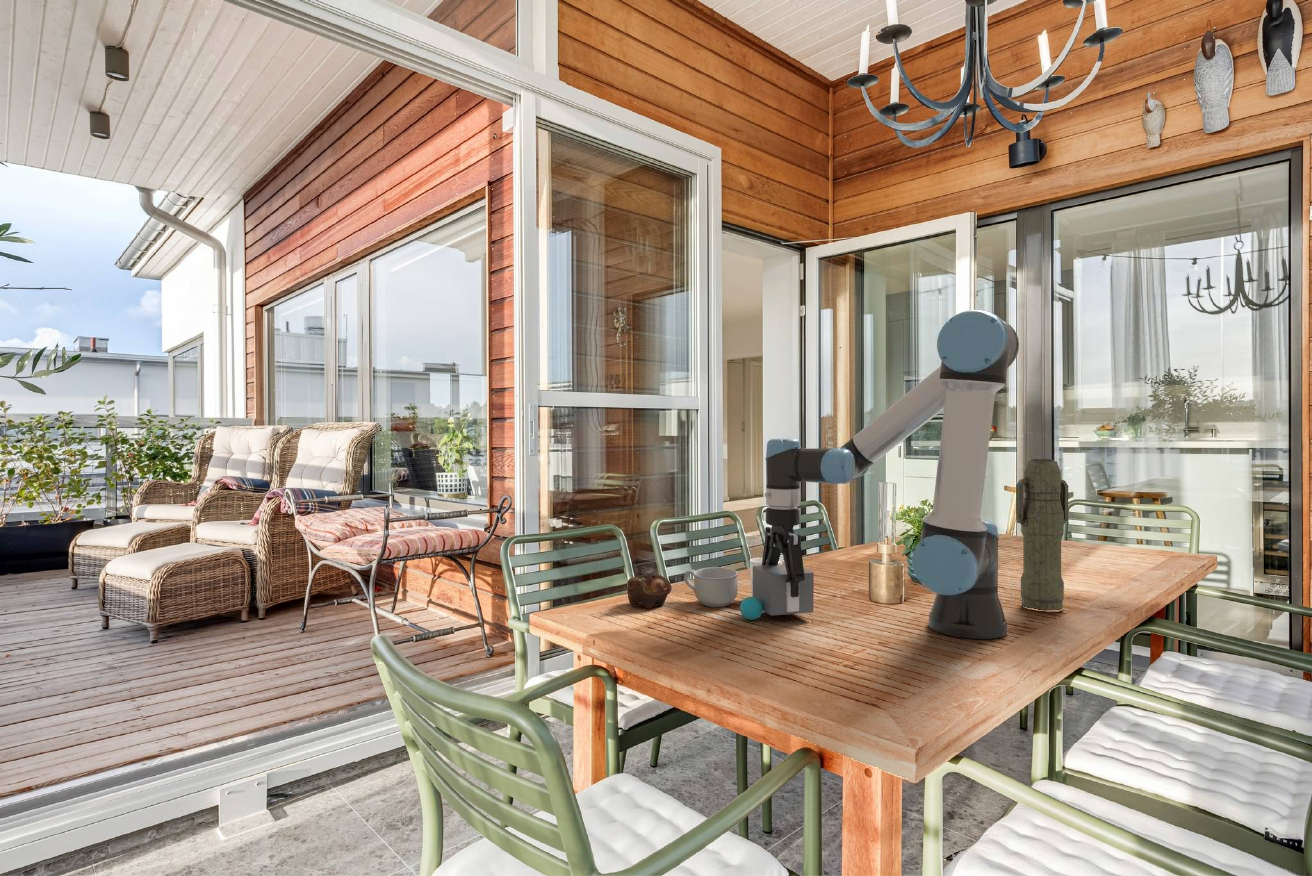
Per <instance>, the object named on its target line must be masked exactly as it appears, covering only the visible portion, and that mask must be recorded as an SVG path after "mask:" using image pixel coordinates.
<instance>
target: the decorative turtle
mask: <svg viewBox="0 0 1312 876" xmlns="http://www.w3.org/2000/svg"><path fill="white" fill-rule="evenodd" d="M626 589H627V590H626V591H627V597H628V598H627V599H628V602H629V605H630V606H631V607H637V606H638V605H639V604H640V603H641V604H642V605H643V606H644V608H646V609H647V610H651V609H652V608H653V607H654V606H655V604H656V605H657V606H659V605H660V606H659V607H662V605H663V606H664V604H665V602H666V600H667V598H668V595H670V593H671V592H672V589H673V588H672V584H671V582H670V580H669V579H668V578H666V577H665V576H662V575H660V574H658V573H652V572H651V573H650V572H649V573H643V574H640V575H638V576H637V577H636V576H633V577H630V578H629V579H628V580H627V584H626Z"/></svg>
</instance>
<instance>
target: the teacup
mask: <svg viewBox="0 0 1312 876" xmlns="http://www.w3.org/2000/svg"><path fill="white" fill-rule="evenodd" d="M690 575H692V576H693V578H694V579H693V583H692V581H691V580H690ZM738 575H739V572H738V571H737V570H736V569H733V568H730V567H722V566H721V567H719V566H712V567H709V566H708V567H703V568H699V569H696V570H695V569H688V570H686V571H685V573H684V575H683V580H684V583H685V584H686V585H687V586H688V588H690V589H691V590H692V591H693V592H694V595H695V598H696V600H698V601H699V602H700V603H701V604H702V605H704V606H706V607H711V608H722V607H723V608H724V607H726V606H729V605H730V604H732V602H733V601H735V599H736V598H737V596H738V587H739V585H738V582H739V580H738V578H739V577H738Z"/></svg>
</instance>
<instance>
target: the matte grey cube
mask: <svg viewBox="0 0 1312 876" xmlns="http://www.w3.org/2000/svg"><path fill="white" fill-rule="evenodd" d="M814 574H815V572H814V571H810V570H808V569H806V568H804V575H805V580H804V581H801V582H799V611H794V612H787V611H786V580H787V579H788V576H787V571H786V567H785V563H784V564H782V565H765V566H753V597H754V598H757V599H758V600H759V601H760V602H761V604H762V607H763V611H762V612H764V613H766V614H768V615H770V616H780V615H781V616H782V615H795V614H807V613H808V614H810V613H814V595H815V593H814V591H815V590H814V589H815V587H814V585H815V582H814V581H815V580H814Z"/></svg>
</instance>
